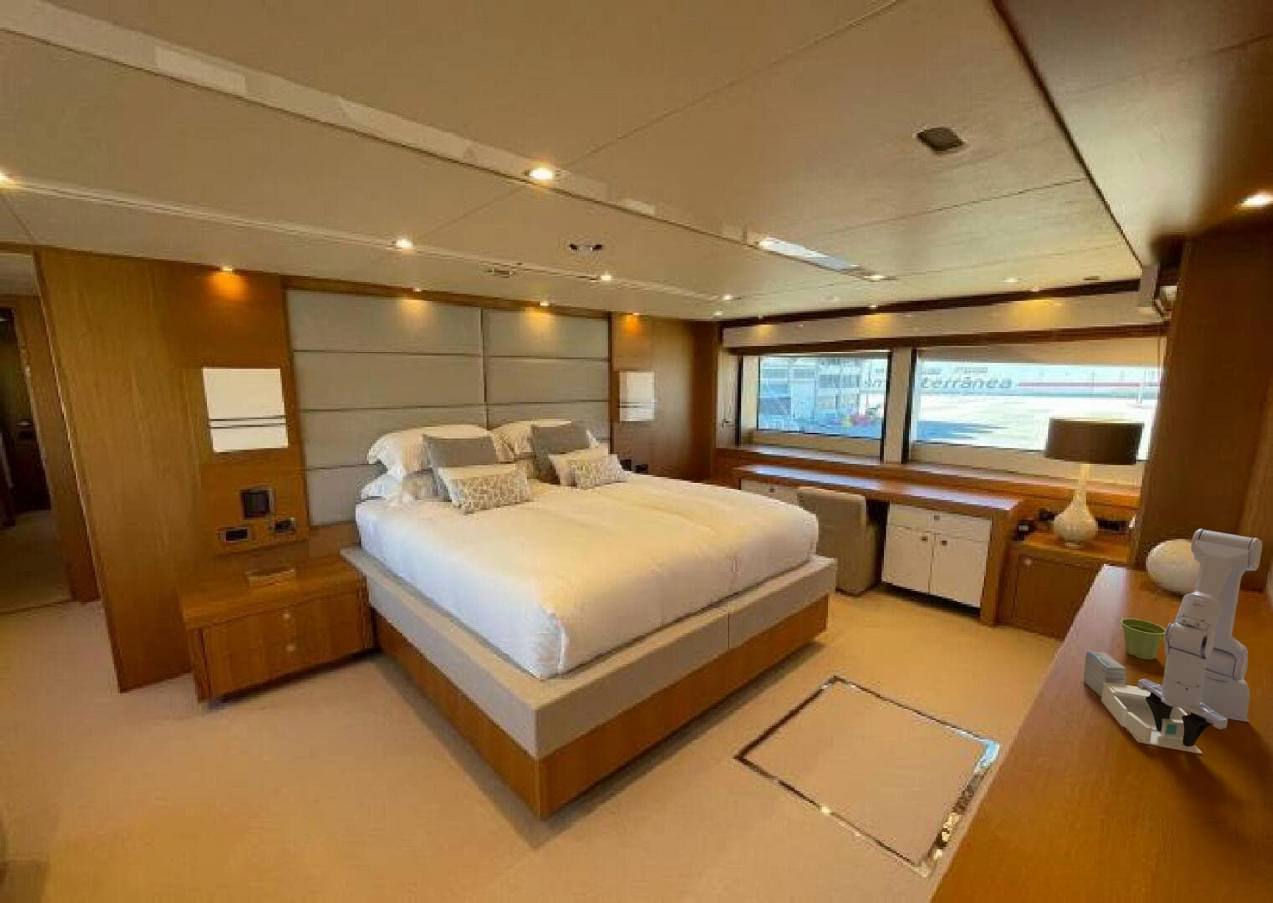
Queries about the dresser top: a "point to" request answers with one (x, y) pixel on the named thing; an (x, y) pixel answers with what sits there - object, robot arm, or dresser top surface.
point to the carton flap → (1172, 728)
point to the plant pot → (1142, 638)
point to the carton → (1140, 715)
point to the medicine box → (1102, 671)
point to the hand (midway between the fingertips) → (1174, 737)
